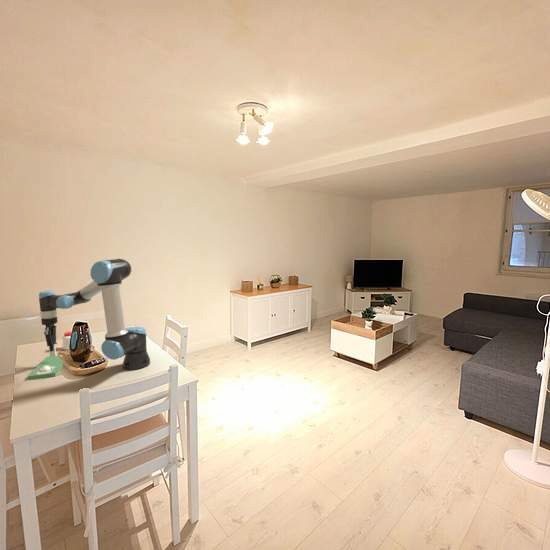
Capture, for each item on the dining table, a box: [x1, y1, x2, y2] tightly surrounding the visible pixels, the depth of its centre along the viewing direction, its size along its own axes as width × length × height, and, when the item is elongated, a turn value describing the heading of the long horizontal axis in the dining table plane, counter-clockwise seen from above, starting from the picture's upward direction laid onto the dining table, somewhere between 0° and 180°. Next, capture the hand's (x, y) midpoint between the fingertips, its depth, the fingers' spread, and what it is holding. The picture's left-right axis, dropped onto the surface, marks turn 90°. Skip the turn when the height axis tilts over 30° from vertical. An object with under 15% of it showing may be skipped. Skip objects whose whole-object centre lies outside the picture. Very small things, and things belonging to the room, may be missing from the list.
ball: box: [41, 366, 51, 372], centre depth 169 cm, size 4×4×4 cm
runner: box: [28, 354, 64, 381], centre depth 177 cm, size 12×28×2 cm, turn 21°
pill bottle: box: [61, 331, 72, 350], centre depth 207 cm, size 8×8×11 cm
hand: (53, 355), depth 180 cm, fingers closed
